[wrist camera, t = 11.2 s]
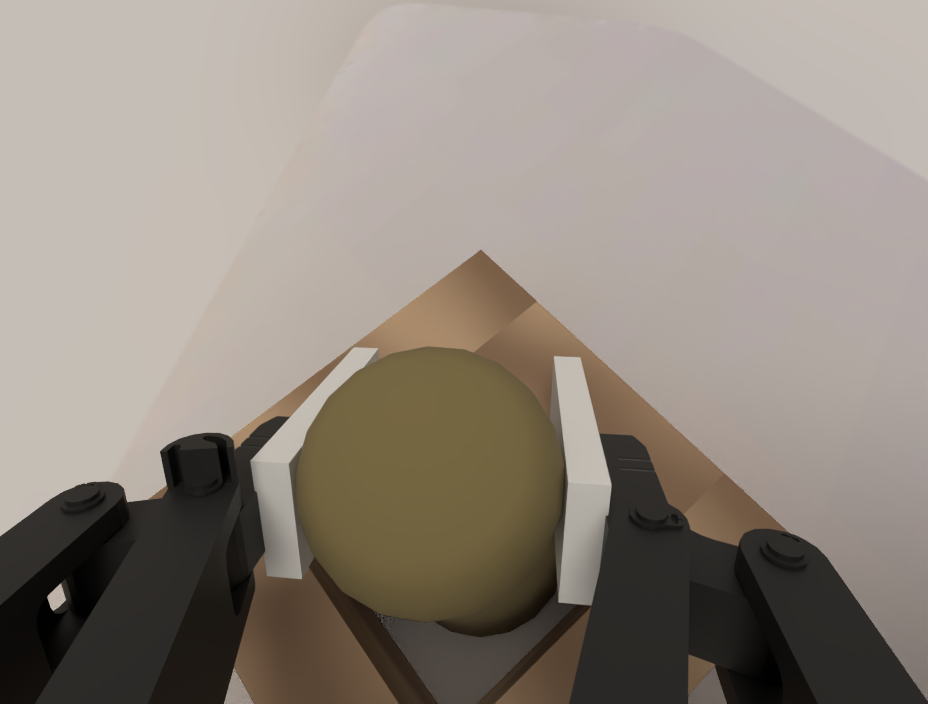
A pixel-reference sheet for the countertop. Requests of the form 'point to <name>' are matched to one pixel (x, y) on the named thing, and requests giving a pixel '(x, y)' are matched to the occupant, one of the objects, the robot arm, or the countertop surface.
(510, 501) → the cork
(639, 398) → the socket block
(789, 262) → the countertop surface
